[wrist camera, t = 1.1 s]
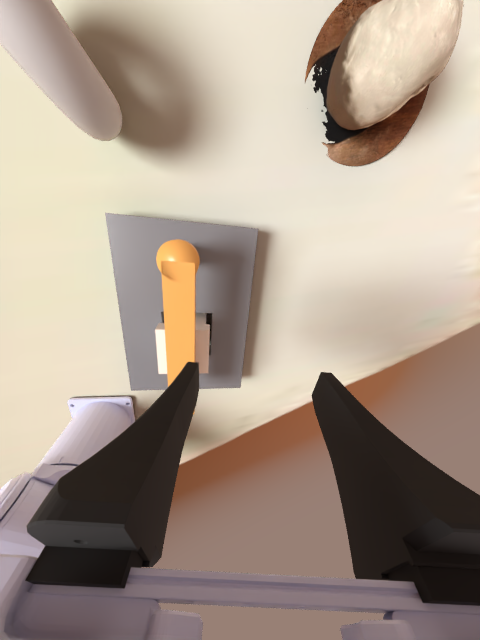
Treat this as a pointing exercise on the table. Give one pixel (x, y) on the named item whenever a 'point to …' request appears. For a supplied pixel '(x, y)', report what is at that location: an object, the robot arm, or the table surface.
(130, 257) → the socket block
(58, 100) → the donut
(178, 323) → the orange paddle handle
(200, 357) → the plug
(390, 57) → the skull
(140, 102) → the table surface
